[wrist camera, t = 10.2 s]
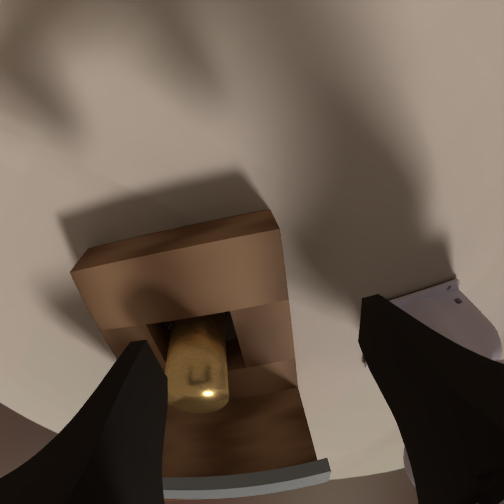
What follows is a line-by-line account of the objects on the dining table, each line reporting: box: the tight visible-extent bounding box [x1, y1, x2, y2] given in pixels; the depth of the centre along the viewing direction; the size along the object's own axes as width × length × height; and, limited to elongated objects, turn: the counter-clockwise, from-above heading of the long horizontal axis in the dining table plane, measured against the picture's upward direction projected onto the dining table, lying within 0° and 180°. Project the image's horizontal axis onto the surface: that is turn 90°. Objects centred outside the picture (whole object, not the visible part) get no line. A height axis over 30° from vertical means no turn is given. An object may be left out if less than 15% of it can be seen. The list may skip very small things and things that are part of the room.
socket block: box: [70, 210, 331, 499], centre depth 15 cm, size 13×15×11 cm
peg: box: [165, 312, 229, 414], centre depth 17 cm, size 4×4×7 cm
